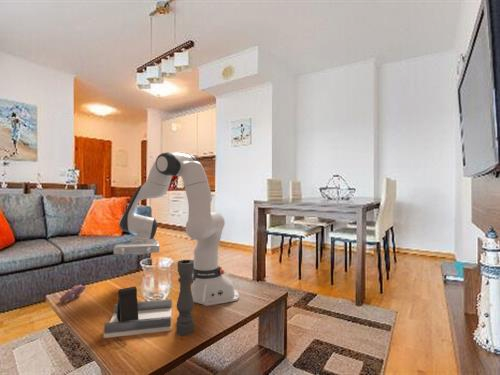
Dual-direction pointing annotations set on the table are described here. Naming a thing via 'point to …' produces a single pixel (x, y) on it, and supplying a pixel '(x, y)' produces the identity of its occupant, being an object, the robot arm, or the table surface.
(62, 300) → the video game controller
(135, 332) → the track base
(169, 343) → the table surface
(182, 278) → the candle holder
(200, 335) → the table surface
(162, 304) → the track rails
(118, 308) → the phone stand
